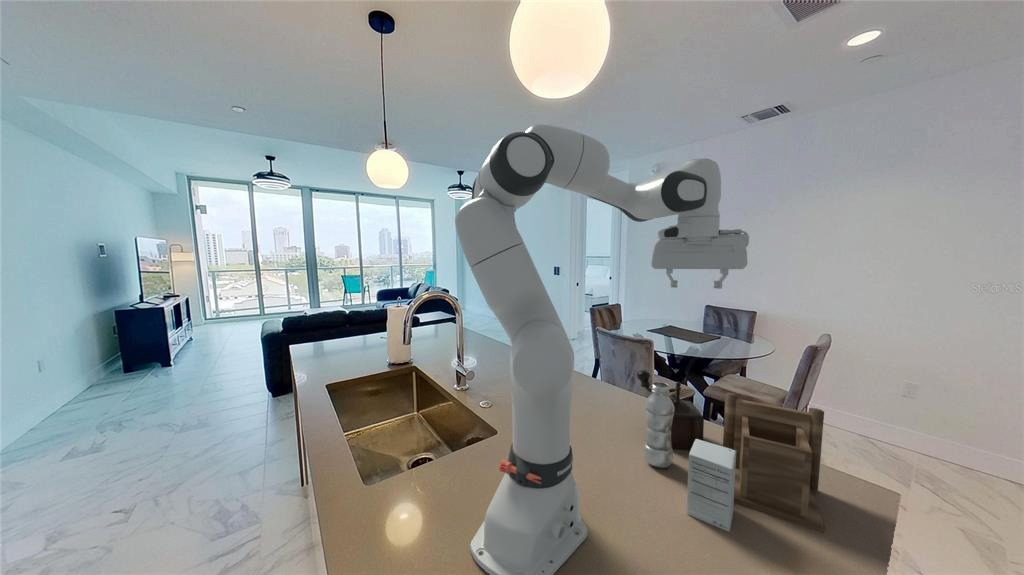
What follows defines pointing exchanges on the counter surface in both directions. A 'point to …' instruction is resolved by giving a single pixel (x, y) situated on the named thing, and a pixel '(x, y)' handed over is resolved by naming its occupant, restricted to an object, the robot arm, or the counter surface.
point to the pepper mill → (680, 417)
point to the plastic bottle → (659, 426)
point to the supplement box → (711, 483)
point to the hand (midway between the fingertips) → (695, 287)
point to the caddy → (775, 458)
